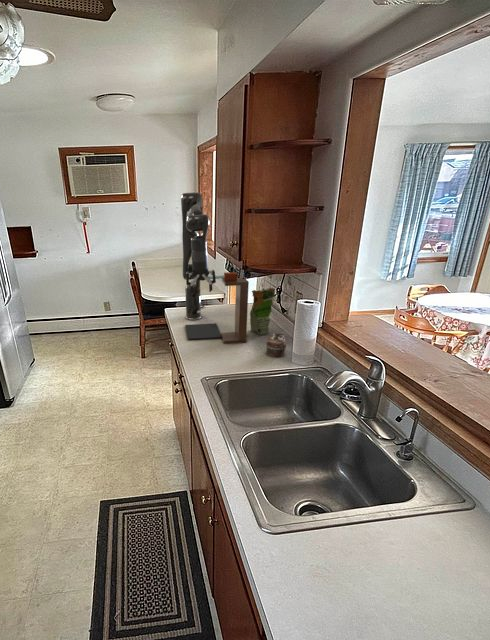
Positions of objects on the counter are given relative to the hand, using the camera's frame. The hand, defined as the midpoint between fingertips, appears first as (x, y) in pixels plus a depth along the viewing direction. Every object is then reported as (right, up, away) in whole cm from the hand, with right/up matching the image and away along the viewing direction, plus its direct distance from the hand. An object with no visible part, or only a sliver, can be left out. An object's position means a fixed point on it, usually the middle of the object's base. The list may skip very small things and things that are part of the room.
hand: (201, 292), depth 192 cm
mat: (+2, -18, +28) cm, 33 cm away
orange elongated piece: (+10, +7, +4) cm, 12 cm away
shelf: (+18, -22, +17) cm, 34 cm away
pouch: (+35, -18, +25) cm, 46 cm away
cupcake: (+36, -31, -2) cm, 47 cm away
